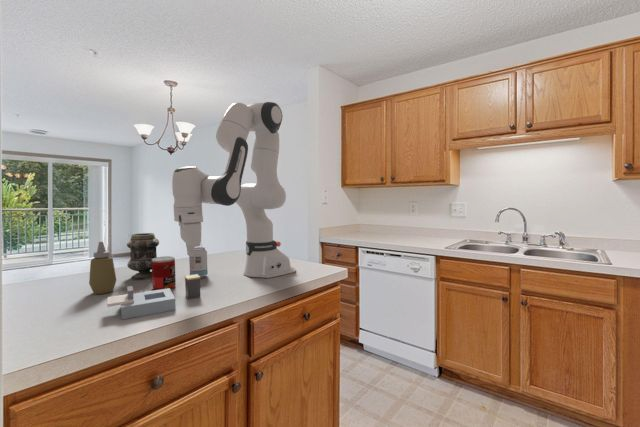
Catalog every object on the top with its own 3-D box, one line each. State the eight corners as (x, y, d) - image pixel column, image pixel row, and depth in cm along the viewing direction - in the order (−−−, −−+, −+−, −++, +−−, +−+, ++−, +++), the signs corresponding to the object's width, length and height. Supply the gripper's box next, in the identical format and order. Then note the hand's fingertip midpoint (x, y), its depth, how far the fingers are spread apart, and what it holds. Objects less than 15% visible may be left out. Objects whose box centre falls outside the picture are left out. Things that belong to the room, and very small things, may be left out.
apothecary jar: (162, 271, 143) (160, 231, 142) (159, 278, 132) (157, 235, 130) (131, 274, 139) (129, 232, 138) (125, 281, 128) (122, 236, 126)
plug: (198, 293, 114) (197, 274, 113) (200, 297, 110) (200, 276, 110) (185, 295, 111) (184, 275, 111) (187, 299, 108) (187, 278, 107)
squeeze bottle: (84, 296, 111) (81, 244, 109) (97, 288, 119) (94, 240, 117) (110, 295, 112) (107, 243, 111) (120, 287, 120) (118, 239, 119)
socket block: (169, 298, 109) (169, 288, 108) (175, 309, 99) (175, 298, 98) (121, 306, 101) (120, 295, 101) (121, 319, 91) (121, 307, 91)
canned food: (167, 291, 116) (165, 261, 115) (147, 290, 118) (146, 260, 117) (180, 285, 123) (179, 256, 123) (161, 283, 125) (160, 255, 124)
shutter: (133, 295, 101) (132, 285, 100) (134, 302, 95) (133, 291, 94) (107, 299, 97) (107, 288, 97) (107, 306, 91) (106, 295, 91)
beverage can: (210, 275, 137) (210, 247, 137) (202, 279, 131) (201, 250, 130) (195, 274, 139) (194, 246, 138) (186, 278, 132) (185, 249, 131)
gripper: (174, 213, 116) (177, 251, 117) (182, 218, 98) (185, 263, 100) (193, 212, 119) (195, 248, 120) (204, 217, 101) (206, 260, 103)
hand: (190, 255), depth 110 cm, fingers closed
